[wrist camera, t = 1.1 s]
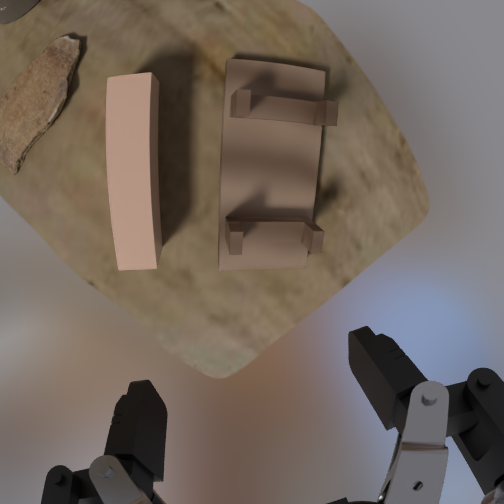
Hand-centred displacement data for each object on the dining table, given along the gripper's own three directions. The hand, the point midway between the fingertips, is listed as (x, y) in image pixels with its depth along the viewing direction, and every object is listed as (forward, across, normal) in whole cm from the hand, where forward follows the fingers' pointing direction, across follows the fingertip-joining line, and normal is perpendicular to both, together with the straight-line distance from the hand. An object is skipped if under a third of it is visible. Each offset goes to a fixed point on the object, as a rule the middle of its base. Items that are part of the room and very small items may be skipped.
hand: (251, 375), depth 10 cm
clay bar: (+19, +6, -8) cm, 21 cm away
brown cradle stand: (+19, -5, -6) cm, 21 cm away
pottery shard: (+18, +16, -19) cm, 31 cm away
